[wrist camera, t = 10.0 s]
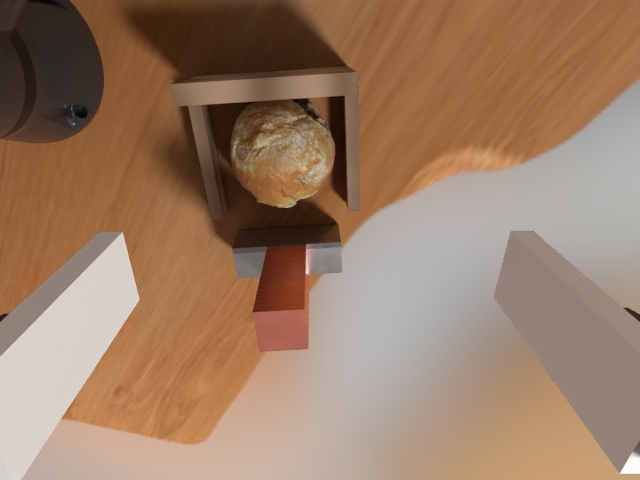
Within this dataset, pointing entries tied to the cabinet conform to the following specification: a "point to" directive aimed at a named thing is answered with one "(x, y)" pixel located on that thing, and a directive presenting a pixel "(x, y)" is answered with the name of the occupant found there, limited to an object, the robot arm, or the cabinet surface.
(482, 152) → the cabinet surface
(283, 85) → the frame
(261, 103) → the bread roll
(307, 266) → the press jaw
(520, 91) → the cabinet surface
